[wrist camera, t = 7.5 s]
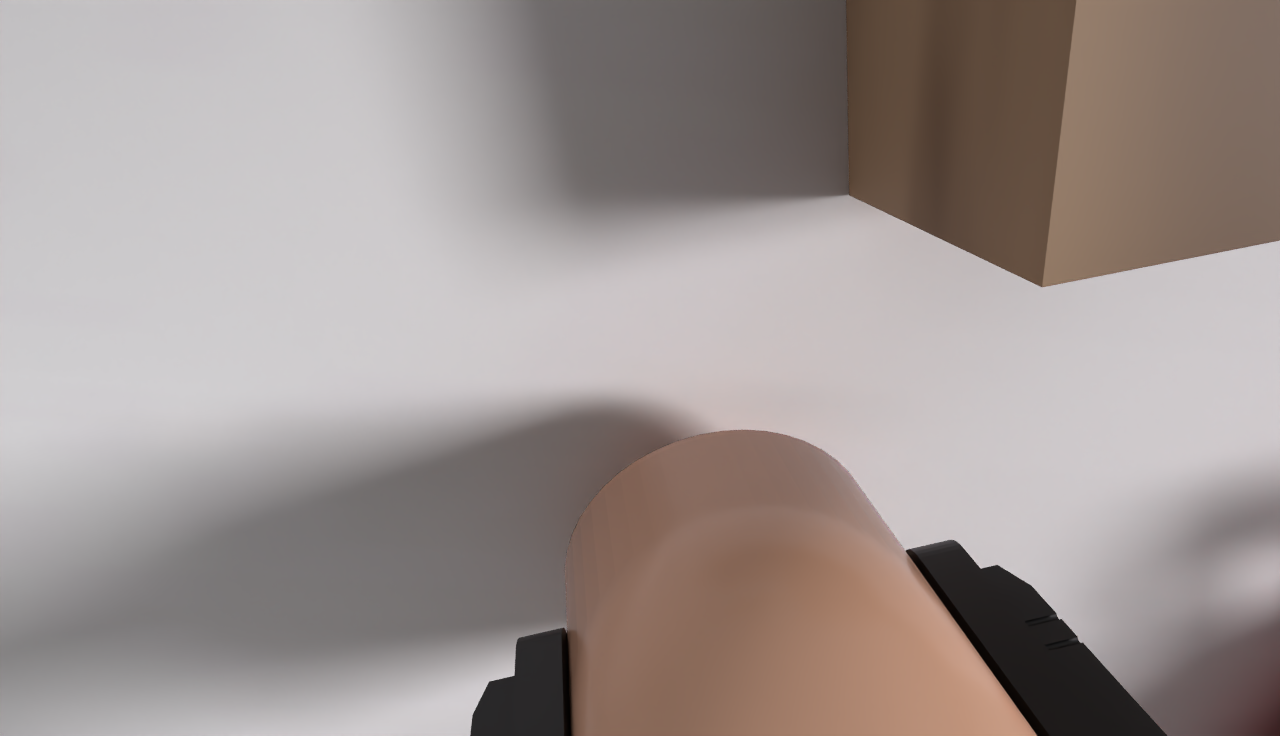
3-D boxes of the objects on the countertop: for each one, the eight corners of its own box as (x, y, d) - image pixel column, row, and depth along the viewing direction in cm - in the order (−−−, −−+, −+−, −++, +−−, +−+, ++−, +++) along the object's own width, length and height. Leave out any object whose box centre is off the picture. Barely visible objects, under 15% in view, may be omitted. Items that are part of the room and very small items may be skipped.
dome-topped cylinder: (868, 396, 11) (1253, 815, 5) (874, 636, 13) (1134, 1104, 7) (529, 472, 11) (510, 1003, 5) (600, 701, 13) (645, 1235, 7)
